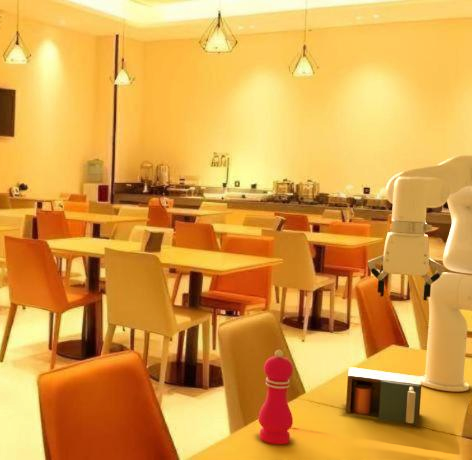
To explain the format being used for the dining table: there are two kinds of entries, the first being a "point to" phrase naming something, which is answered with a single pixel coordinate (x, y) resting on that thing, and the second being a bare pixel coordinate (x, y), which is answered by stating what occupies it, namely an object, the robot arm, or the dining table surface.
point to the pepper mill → (276, 401)
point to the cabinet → (375, 386)
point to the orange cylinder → (362, 399)
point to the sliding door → (399, 402)
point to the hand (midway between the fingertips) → (403, 297)
